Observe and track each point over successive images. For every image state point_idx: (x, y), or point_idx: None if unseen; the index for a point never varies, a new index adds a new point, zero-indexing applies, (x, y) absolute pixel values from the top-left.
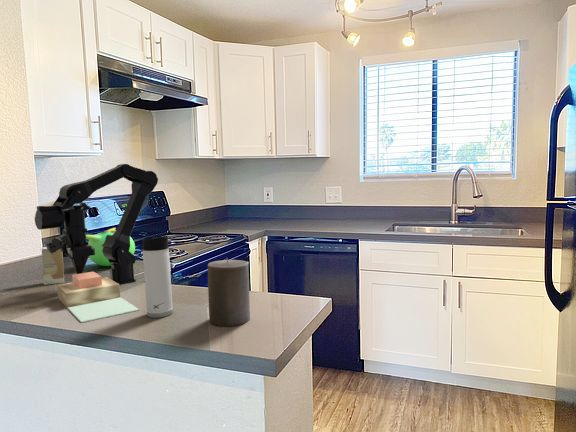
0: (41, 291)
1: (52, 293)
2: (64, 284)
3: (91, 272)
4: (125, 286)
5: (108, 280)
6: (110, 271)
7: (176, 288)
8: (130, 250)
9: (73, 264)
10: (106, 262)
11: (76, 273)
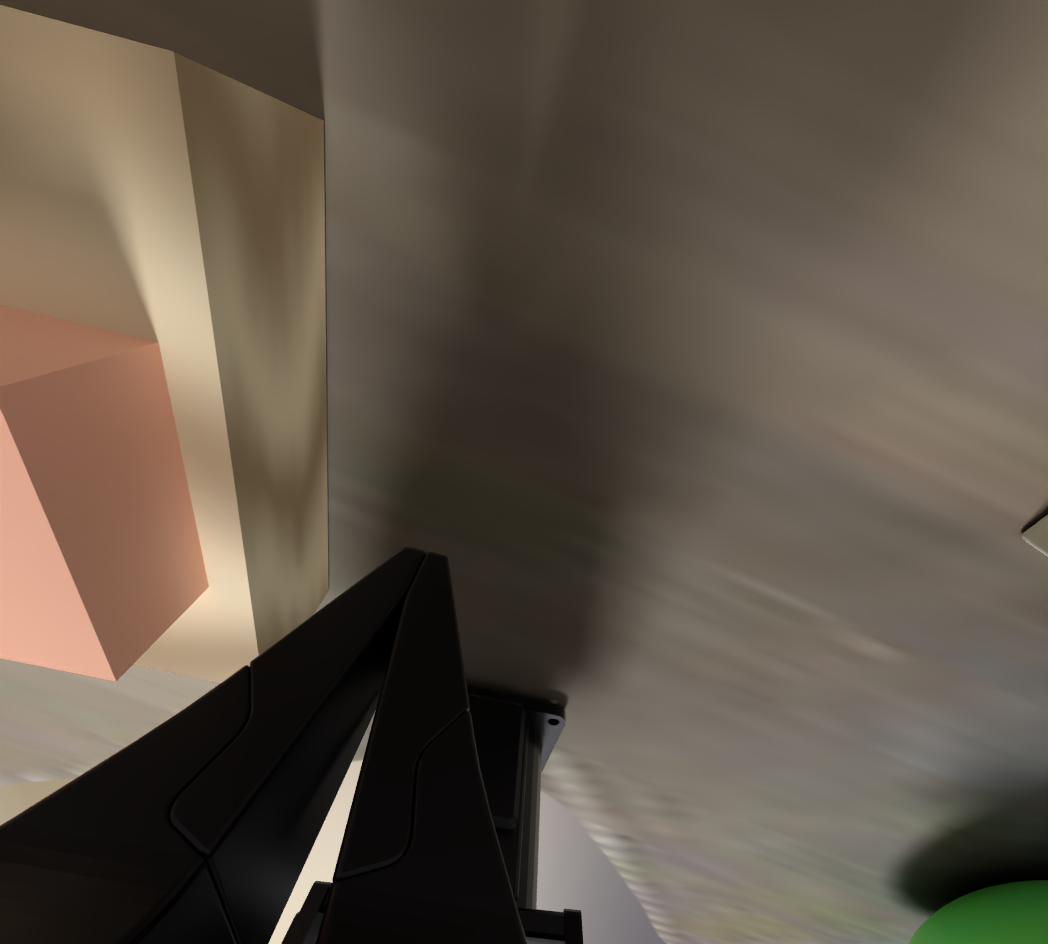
0: (982, 145)
1: (677, 204)
2: (127, 197)
3: (48, 645)
4: None
5: None
6: (497, 792)
7: (67, 744)
8: None
9: (398, 727)
10: (1022, 919)
11: (421, 572)
